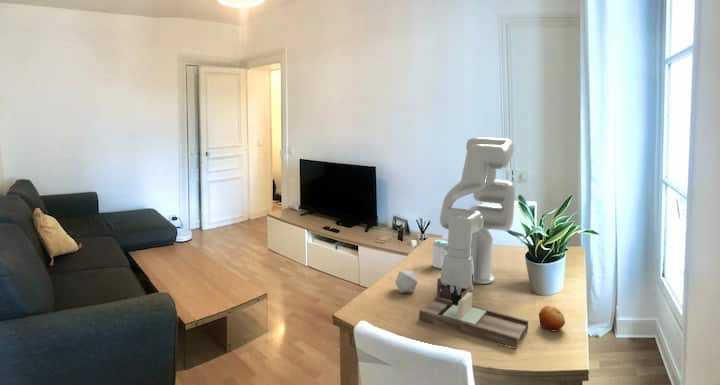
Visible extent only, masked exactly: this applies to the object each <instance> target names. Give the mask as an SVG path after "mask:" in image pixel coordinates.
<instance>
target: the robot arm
mask: <svg viewBox="0 0 720 385" xmlns="http://www.w3.org/2000/svg"><path fill="white" fill-rule="evenodd" d="M465 147H466V154H465V160H464V165H463V170H462V173H461V178H460V181H459V182H458V183H456V184H455V185H453V187H452V188H450V190H449V191H448V192H447V193H446V195H445V196H444V199H443V201H442V206H441V210H440V216H439V223H440V226H441V227H442V228H444V229H445V230H448V232H447V235H448V236H447V241H448V245H447V246H444V249H445V250H447V253H446V254H445V255H444V259H443V264H442V269H440V271H441V273H440V278H441V282H442V284H443V285H445V286H447V287H448V288H449V290H450V292H451V293H452V296H451V301H452V305H455V306H457V305H458V301H459V300H460V299H461V298H462V297H463V293H464V292H472V291H473V290H474V285H473V284H479V285H486V284H491V283H493V282H494V281H495V276H494V274H492V261H493V260H492V258H493V244H494V243H493V242H494V238H493V236H492V234H491V232H490V231H489V230H494V231H502V232H503V231H504V232H505V231H506V232H507V231H510V230H511V229H512V227H513V224H514V223H513V222H514V211H515V209H514V208H515V198H516V197H515V196H516V195H515V191H516V190H515V185H514V183H513V182H512V181H509V180H503V179H497V177H496V176H497V170H503V169H506V168H507V166H508V165H509V163H510V160H511V159H512V157H513V154H514V143H513V141H512V140H511V139H509V138H500V137H499V138H498V137H497V138H496V137H471V138H469V139H467V141H466V146H465ZM468 195H472V196H473V199H474V200H475V201H476V202H480V203H487V204H488V205H487V204H474V205H472V206H471V207H469V209H465V208H456V207H453V205H454V204H455V202H456V201H458V200H459V199H461V198H463V197H466V196H468ZM490 204H497V205H498V206H497V205H490ZM499 205H500V206H499Z"/></svg>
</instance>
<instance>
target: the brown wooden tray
mask: <svg viewBox="0 0 720 385" xmlns="http://www.w3.org/2000/svg"><path fill="white" fill-rule="evenodd" d="M451 306H452V301H451V300H447V299H444V298H440V297H437V296H435V300H433V301H432V302H431V303H430V304H429V305H427V306H426V307H425V308H424V309H420V310H419V314H418V321H420V322H424V323H428V324H430V325H434V326H437V327H439V328H444V329H447V330H450V331H454V332H457V333H461V334H464V335H467V336H471V337H475V338H478V339H481V340H484V341H487V342H490V341H491V343H494V342H495V344H497V343H499V344H498V345H500V344H503V345H502V346H504V345H507V346H511V347H515V348H516V347H517V345H518V344H519V345H520V343H521V342H520V341H522V340H523V338H524V337H523V336H525V335H526V333H527V332H526V331H528V330H527V329H528V328H529V320H527V319H524V318H520V317H516V316H512V315H508V314H504V313H500V312H498V311H497V312H496V311H493V310H489V309H485V308H481V307H478V306H473V305H472V307H473V308H477V309H481V310H485V311H486V314H485V315H484V316H483V317H482V319H481V320H480V321H479V322H478V323H477V324H476V325H473V324H469V323H466V322H462V321H459V320H455V319H452V318H448V317H445V316H442V315H443V314H444V313H445V312H446V311H447V310H448V309H449V308H450V307H451ZM524 334H525V335H524ZM521 339H522V340H521ZM519 342H520V343H519ZM519 345H518V346H519ZM507 346H506V347H507ZM517 348H518V347H517ZM517 348H516V349H517Z"/></svg>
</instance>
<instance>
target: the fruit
mask: <svg viewBox="0 0 720 385" xmlns="http://www.w3.org/2000/svg"><path fill="white" fill-rule="evenodd" d="M538 318H539V324H540V325H539V326H541V327H542V328H545V329H546V330H548V329H549V330H548V331H552V330H557V331H559V330H561V329H562V327H564V325H565V323H566V319H565V316H564V314H563V312H561V310H559V309H558V308H557V307H554V306H551V305H546V306H544V307H542V308H541V310H540V312H539V314H538Z"/></svg>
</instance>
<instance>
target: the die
mask: <svg viewBox="0 0 720 385" xmlns="http://www.w3.org/2000/svg"><path fill="white" fill-rule="evenodd" d="M394 282H395V285H396V287H397V289H398V291H399V293H403V294H404V293H406V294H407V293H408V294H409V293H412V294H414V291H415V289H416V287H417V285H418V283H419V282H418V279H417V277H416V275H415V273H414V271H413V270H399V272H398V273H397V276H396V279H395V281H394Z"/></svg>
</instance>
